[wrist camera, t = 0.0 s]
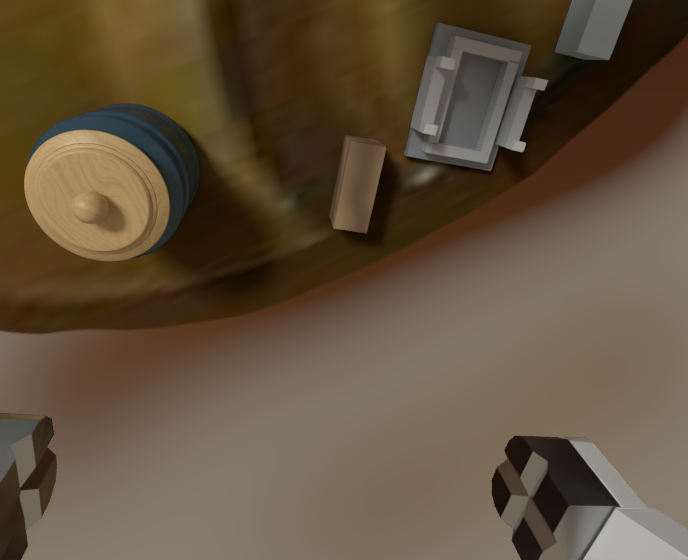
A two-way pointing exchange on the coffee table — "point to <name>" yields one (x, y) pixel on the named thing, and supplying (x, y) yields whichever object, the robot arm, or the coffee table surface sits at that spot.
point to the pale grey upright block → (592, 28)
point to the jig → (471, 98)
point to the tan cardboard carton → (356, 183)
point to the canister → (112, 181)
